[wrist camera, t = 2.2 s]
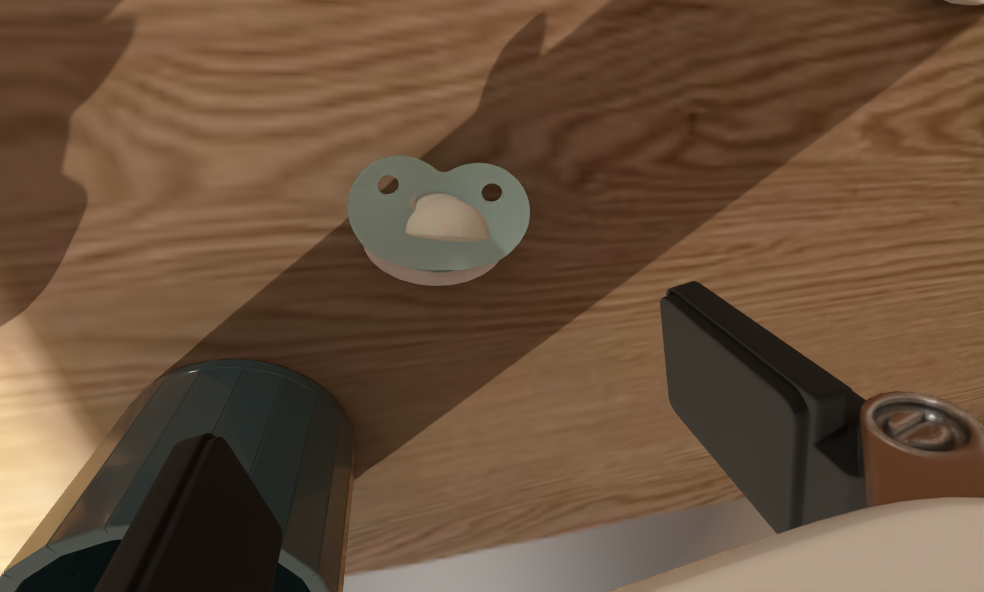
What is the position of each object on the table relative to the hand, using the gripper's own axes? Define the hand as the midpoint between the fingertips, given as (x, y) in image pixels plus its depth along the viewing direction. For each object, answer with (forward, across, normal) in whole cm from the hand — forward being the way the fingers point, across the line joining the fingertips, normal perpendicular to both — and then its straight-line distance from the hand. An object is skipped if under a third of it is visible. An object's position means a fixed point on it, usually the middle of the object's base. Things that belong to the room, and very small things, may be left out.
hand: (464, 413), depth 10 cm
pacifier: (+14, -1, 0) cm, 14 cm away
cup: (+14, +12, +9) cm, 21 cm away
